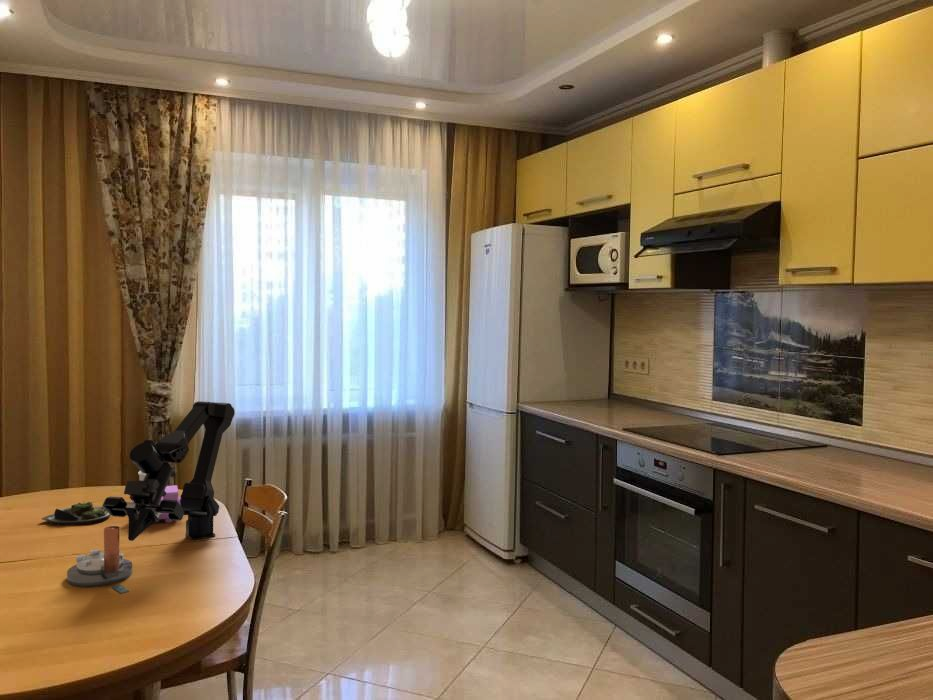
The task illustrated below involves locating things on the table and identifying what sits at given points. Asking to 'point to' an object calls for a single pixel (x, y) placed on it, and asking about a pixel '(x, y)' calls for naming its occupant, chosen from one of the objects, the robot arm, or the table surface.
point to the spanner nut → (103, 556)
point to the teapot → (170, 495)
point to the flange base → (99, 577)
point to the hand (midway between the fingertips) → (130, 540)
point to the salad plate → (78, 515)
